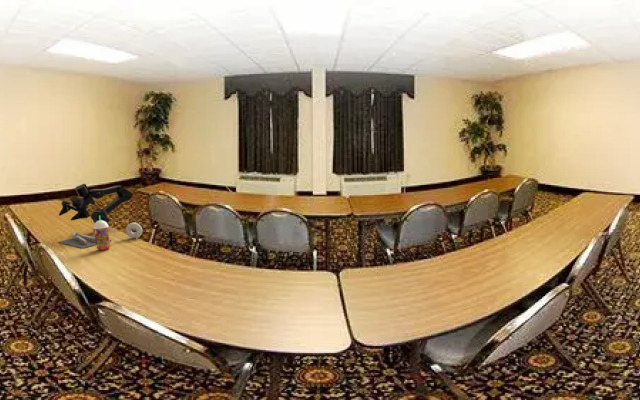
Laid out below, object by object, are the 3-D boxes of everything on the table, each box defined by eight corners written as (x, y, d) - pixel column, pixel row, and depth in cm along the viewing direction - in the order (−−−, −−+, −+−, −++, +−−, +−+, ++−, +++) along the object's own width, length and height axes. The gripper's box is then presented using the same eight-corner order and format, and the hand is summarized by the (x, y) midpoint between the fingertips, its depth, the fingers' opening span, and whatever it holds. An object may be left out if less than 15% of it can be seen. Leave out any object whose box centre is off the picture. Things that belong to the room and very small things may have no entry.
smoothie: (96, 252, 272) (91, 218, 268) (95, 249, 279) (90, 215, 275) (112, 250, 276) (108, 216, 272) (110, 246, 283) (106, 213, 279)
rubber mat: (86, 235, 310) (86, 234, 310) (111, 241, 295) (111, 240, 295) (58, 242, 296) (58, 241, 295) (82, 248, 280) (82, 247, 280)
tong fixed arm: (72, 238, 301) (71, 233, 301) (78, 237, 305) (77, 231, 304) (92, 243, 288) (92, 237, 288) (99, 241, 292) (98, 236, 291)
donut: (125, 239, 297) (123, 223, 295) (127, 238, 301) (125, 222, 299) (142, 238, 298) (140, 222, 296) (143, 237, 301) (142, 221, 300)
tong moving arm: (75, 239, 299) (74, 235, 299) (78, 238, 300) (77, 235, 299) (84, 244, 285) (84, 241, 285) (87, 244, 286) (86, 240, 286)
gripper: (68, 188, 302) (49, 202, 291) (92, 197, 298) (73, 212, 286) (73, 201, 310) (54, 216, 298) (96, 210, 305) (78, 226, 294)
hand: (64, 217), depth 294 cm, fingers open, 9 cm apart
